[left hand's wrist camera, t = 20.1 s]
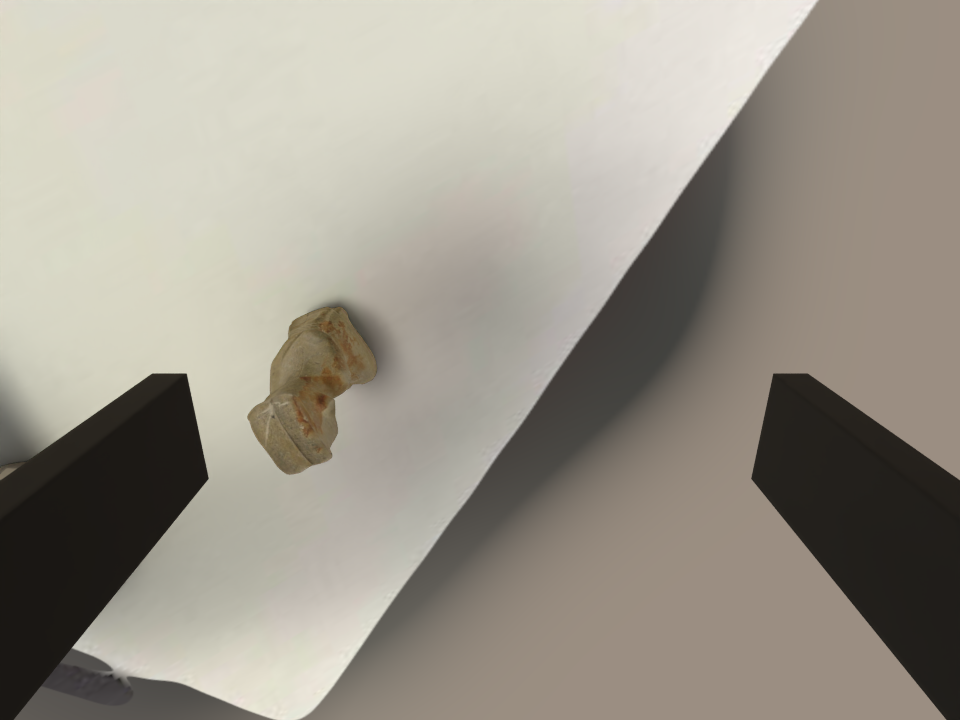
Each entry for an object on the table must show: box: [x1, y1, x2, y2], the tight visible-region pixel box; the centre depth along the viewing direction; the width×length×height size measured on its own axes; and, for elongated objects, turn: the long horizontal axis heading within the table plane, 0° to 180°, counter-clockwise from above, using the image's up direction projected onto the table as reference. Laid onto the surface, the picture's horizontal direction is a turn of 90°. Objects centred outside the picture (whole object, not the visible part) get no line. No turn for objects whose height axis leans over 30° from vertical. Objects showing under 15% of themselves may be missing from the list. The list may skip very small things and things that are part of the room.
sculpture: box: [248, 307, 377, 475], centre depth 39 cm, size 6×7×15 cm
